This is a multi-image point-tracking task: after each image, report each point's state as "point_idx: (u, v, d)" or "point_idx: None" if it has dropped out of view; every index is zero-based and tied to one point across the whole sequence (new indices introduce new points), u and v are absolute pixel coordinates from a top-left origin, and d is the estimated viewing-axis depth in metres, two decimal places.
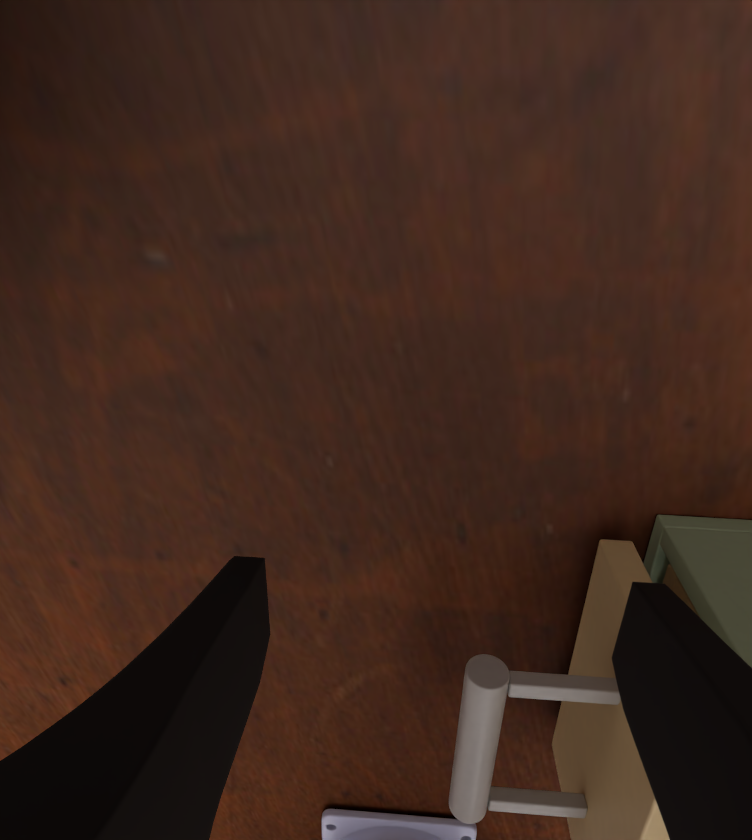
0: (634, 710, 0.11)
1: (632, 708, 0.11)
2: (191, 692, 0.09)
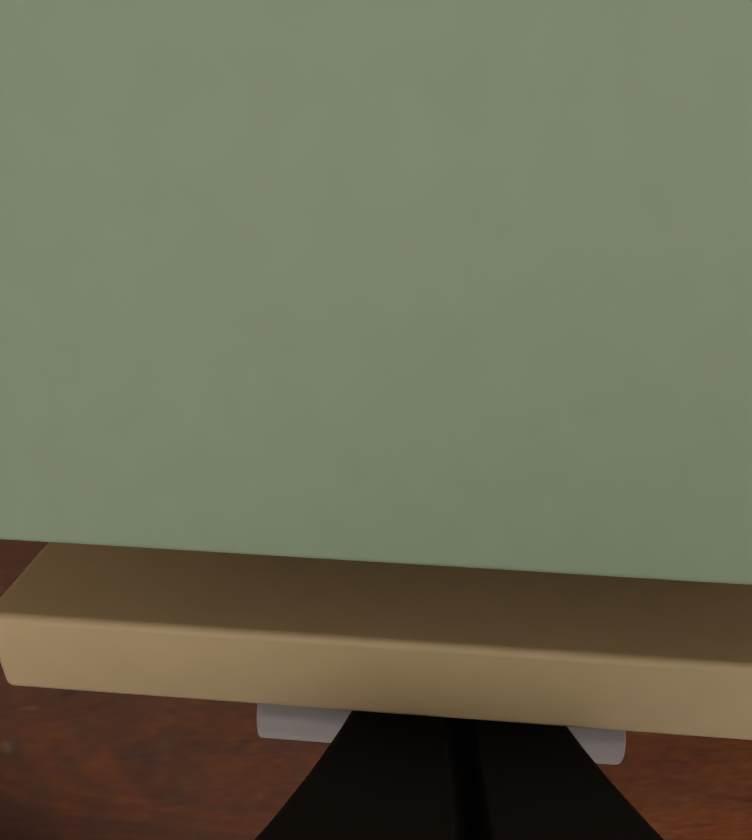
0: None
1: None
2: None
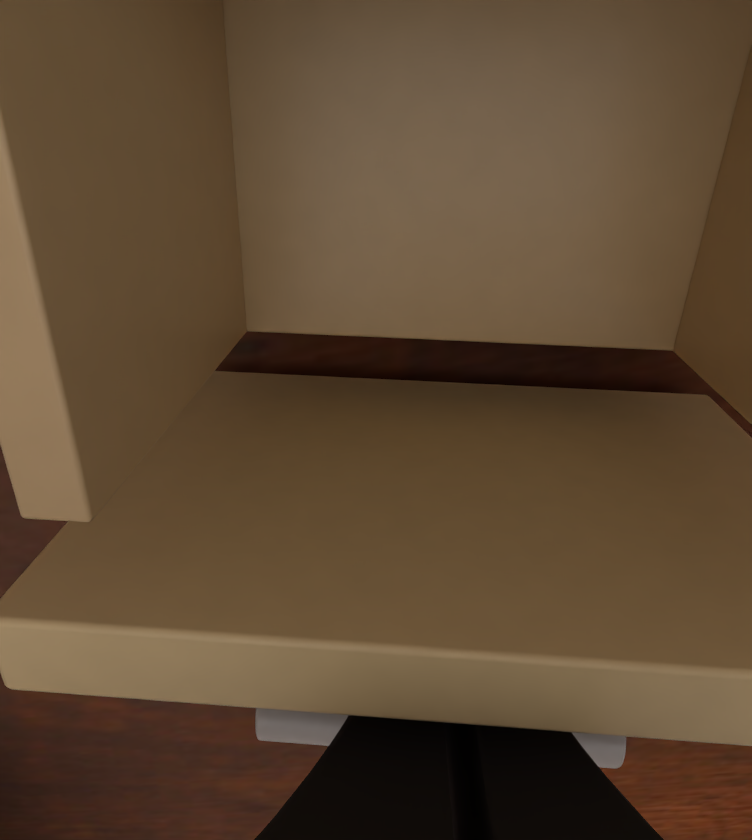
0: None
1: None
2: None
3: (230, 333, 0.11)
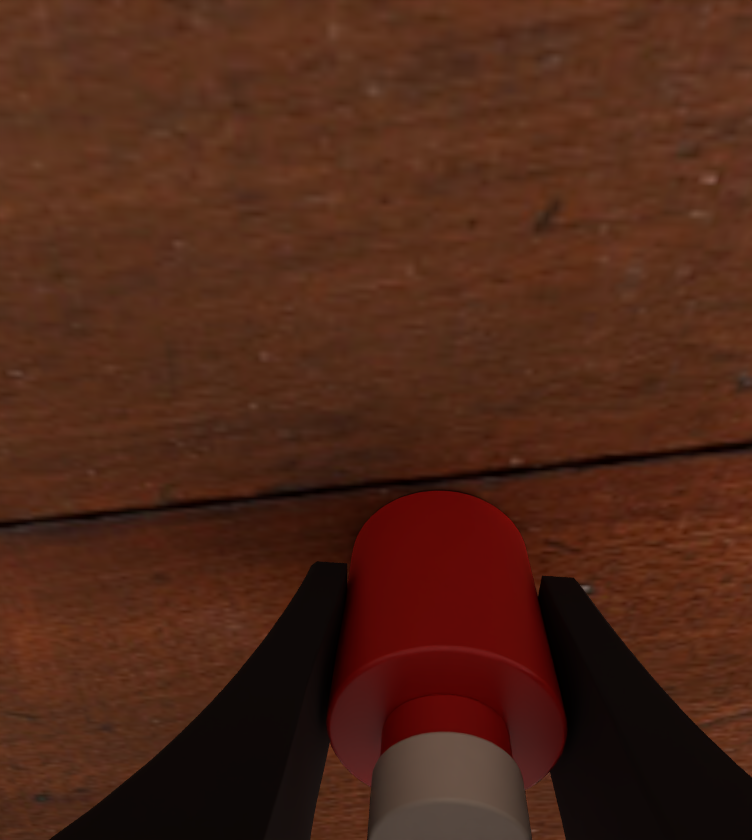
0: None
1: None
2: (305, 701, 0.08)
3: None
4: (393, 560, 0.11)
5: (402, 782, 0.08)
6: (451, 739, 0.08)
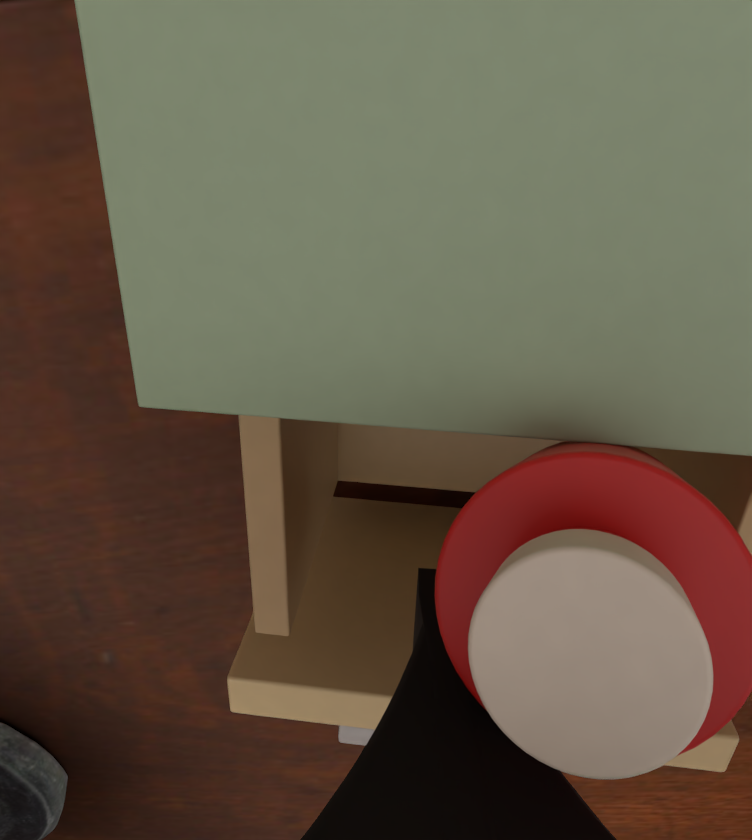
0: None
1: None
2: None
3: (331, 491, 0.18)
4: None
5: None
6: None
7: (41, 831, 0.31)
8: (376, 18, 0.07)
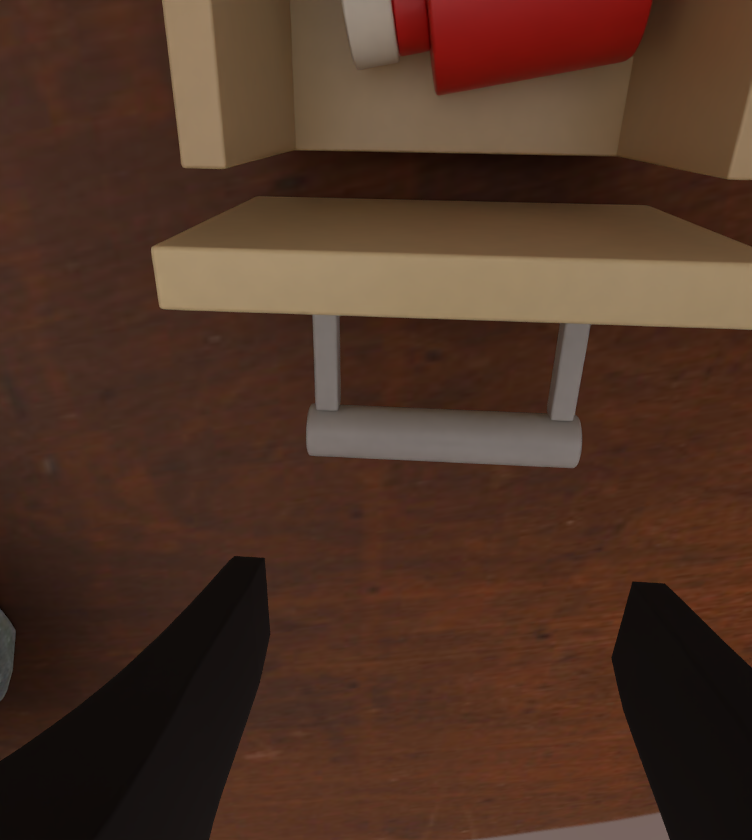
0: (634, 710, 0.11)
1: (632, 708, 0.11)
2: (191, 692, 0.09)
3: (287, 137, 0.15)
4: None
5: (360, 12, 0.12)
6: (390, 43, 0.13)
7: None
8: None
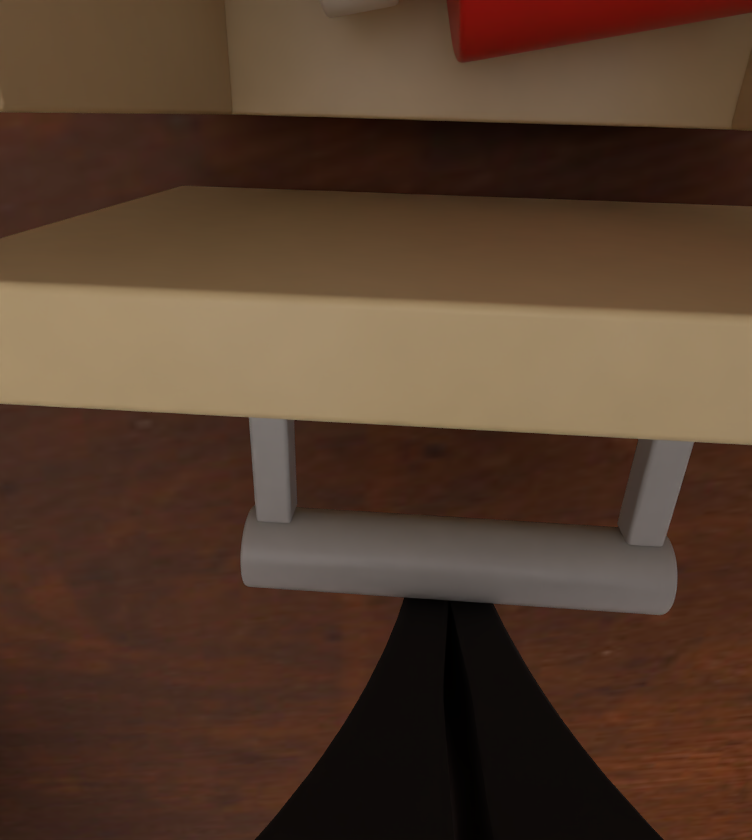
0: None
1: None
2: None
3: (211, 88, 0.09)
4: None
5: None
6: None
7: None
8: None
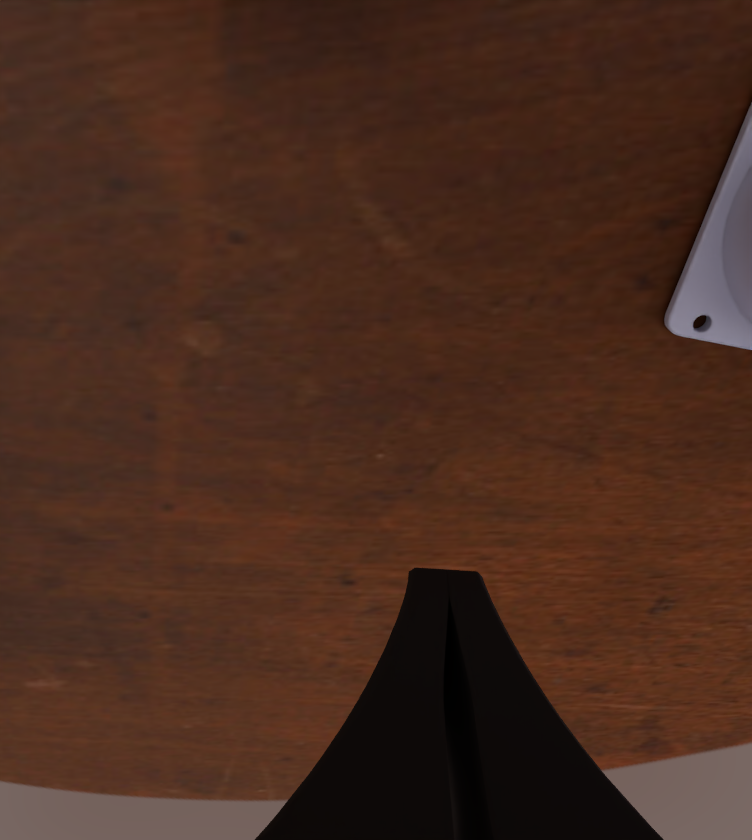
0: None
1: None
2: None
3: None
4: None
5: None
6: None
7: None
8: None
